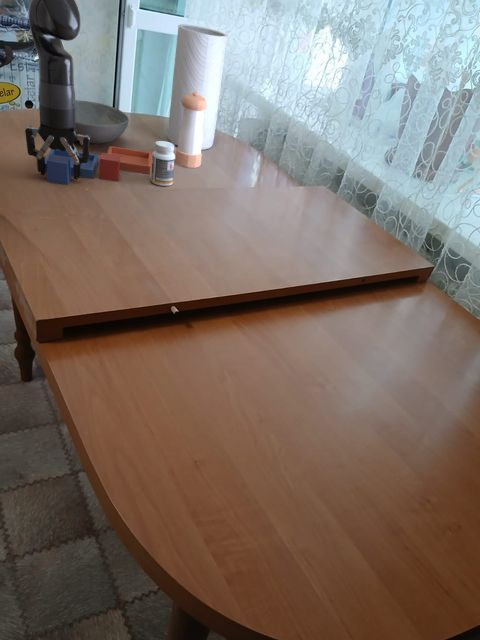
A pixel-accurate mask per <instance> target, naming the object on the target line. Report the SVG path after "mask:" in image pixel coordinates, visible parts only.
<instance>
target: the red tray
mask: <svg viewBox="0 0 480 640" xmlns="http://www.w3.org/2000/svg"><path fill="white" fill-rule="evenodd" d="M106 153H107V154H114V155H120V171H122V172H123V171H124V172H131V173H138V174H139V173H140V174H145V175H151V171H152V157H153V152H151V151H146V150H139V149H133V148H125V147H118V146H112V145H109V146H108V148H107V152H106Z"/></svg>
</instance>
